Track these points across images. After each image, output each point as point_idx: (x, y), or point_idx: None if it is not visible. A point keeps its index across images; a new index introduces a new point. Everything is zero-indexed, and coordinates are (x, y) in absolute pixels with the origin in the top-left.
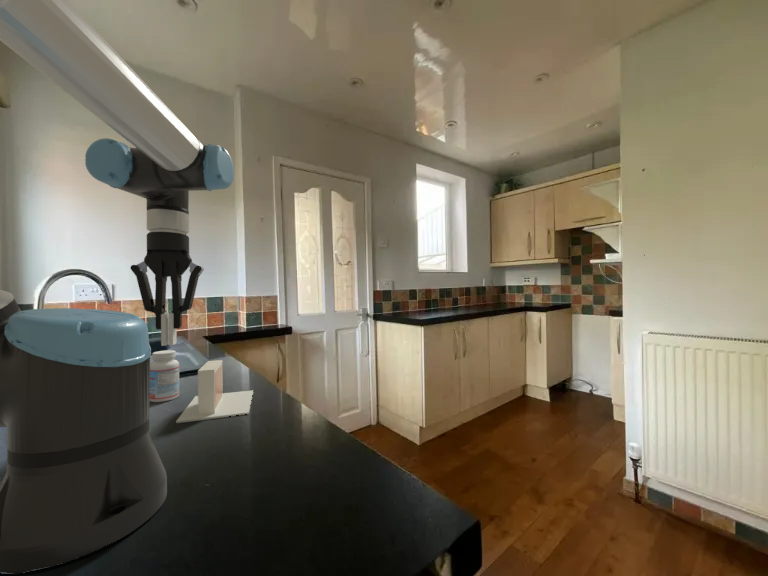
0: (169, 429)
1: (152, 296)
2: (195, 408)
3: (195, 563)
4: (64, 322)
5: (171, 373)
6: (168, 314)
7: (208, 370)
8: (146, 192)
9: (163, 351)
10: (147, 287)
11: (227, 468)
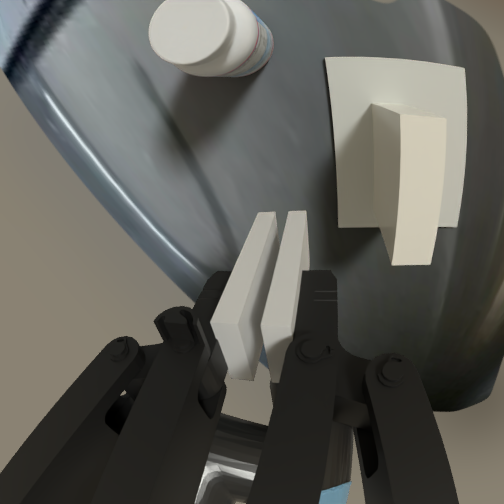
0: (334, 249)
1: (83, 424)
2: (357, 162)
3: None
4: None
5: (251, 58)
6: (243, 334)
7: (416, 263)
8: None
9: (177, 14)
10: (82, 494)
11: (409, 354)
